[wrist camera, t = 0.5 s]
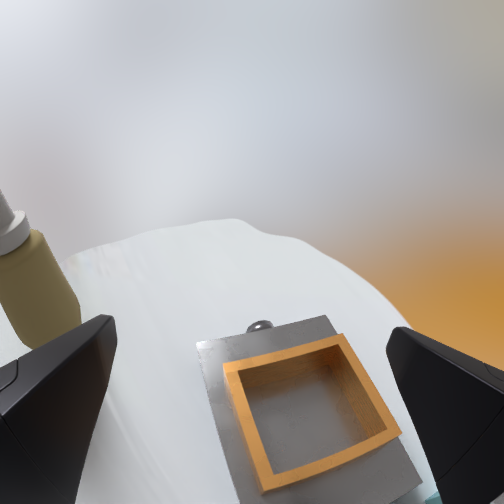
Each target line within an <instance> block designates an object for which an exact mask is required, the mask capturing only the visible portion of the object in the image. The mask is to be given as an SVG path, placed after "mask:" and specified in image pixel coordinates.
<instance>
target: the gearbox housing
mask: <svg viewBox="0 0 504 504" xmlns="http://www.w3.org/2000/svg"><path fill="white" fill-rule="evenodd" d="M196 344H197V349H198V354H199V359H200V364H201V368H202V373H203V377H204V381H205V385H206V389H207V393H208V397H209V401H210V405H211V409H212V413H213V417H214V420H215V424H216V428H217V431H218V435H219V439H220V442H221V446H222V449H223V452H224V456H225V459H226V462H227V466H228V469H229V472H230V475H231V478H232V481H233V484H234V488H235V491H236V494H237V497H238V499H239V502H240V504H389V503H391V502H393V501H394V500H396V499H398V498H399V497H401V496H403V495H404V494H406V493H407V492H409V491H410V490H412V489H414V488H415V487H417V486H418V485H419V484H421V483H422V480H421V478H420V476H419V474H418V472H417V471H416V469H415V467H414V465H413V463H412V461H411V460H410V458H409V456H408V454H407V452H406V451H405V449H404V447H403V445H402V443H401V442H400V440H399V438H398V436H399V435H401V434H402V432H401V430H400V428H399V426H398V425H397V423H396V421H395V419H394V418H393V416H392V414H391V413H390V411H389V409H388V407H387V406H386V404H385V402H384V401H383V399H382V397H381V396H380V394H379V392H378V390H377V389H376V387H375V385H374V384H373V382H372V380H371V379H370V377H369V375H368V374H367V372H366V370H365V369H364V367H363V366H362V364H361V362H360V361H359V359H358V357H357V356H356V354H355V352H354V351H353V349H352V348H351V346H350V344H349V343H348V341H347V340H346V338H345V336H344V335H343V333H341V334H337V332H336V331H335V329H334V328H333V326H332V324H331V323H330V321H329V319H328V318H327V316H326V315H322V316H318V317H315V318H311V319H307V320H303V321H299V322H294V323H290V324H286V325H282V326H277V327H274V326H273V324H272V323H271V322H270V321H266V320H263V321H258V322H255V323H253V324H252V325H251V326H249V327H248V329H247V331H246V333H245V334H240V335H235V336H230V337H225V338H220V339H215V340H209V341H204V342H198V343H196Z"/></svg>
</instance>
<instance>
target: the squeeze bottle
mask: <svg viewBox="0 0 504 504" xmlns="http://www.w3.org/2000/svg"><path fill="white" fill-rule="evenodd" d="M0 303H1V305H2V307H3V309H4V311H5V313H6V315H7V317H8V319H9V321H10V323H11V325H12V327H13V329H14V330H15V332H16V334H17V336H18V337H19V339H20V340H21V341H22V343H23V344H25V345H26V346H28V347H29V348H31V349H33V350H34V349H36V348H38V347H40V346H42V345H44V344H45V343H47V342H49V341H51V340H53V339H55V338H57V337H59V336H60V335H62V334H64V333H66V332H68V331H70V330H72V329H74V328H76V327H77V326H79V325H81V324H82V322H81V312H80V305H79V302H78V299H77V297H76V295H75V293H74V292H73V290H72V288H71V286H70V285H69V283H68V281H67V280H66V278H65V276H64V274H63V272H62V271H61V269H60V267H59V265H58V263H57V261H56V259H55V258H54V256H53V254H52V252H51V250H50V248H49V246H48V244H47V242H46V240H45V238H44V236H43V234H42V233H40V232H39V231H37V230H33V229H30V225H29V222H28V219H27V216H26V213H25V212H23V211H21V210H20V211H19V210H18V211H12V210H11V208H10V206H9V205H8V203H7V201H6V199H5V197H4V195H3V194H2V192H1V190H0Z"/></svg>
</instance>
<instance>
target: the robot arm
mask: <svg viewBox="0 0 504 504" xmlns="http://www.w3.org/2000/svg"><path fill="white" fill-rule="evenodd" d="M116 348H117V334H116V327H115V320H114V317H113V316H110V315H103V314H101V315H98V316H96V317H94V318H93V319H91V320H89V321H87V322H85V323H83V324H81V325H79V326H77V327H76V328H74V329H72V330H70V331H68V332H66V333H64V334H62V335H60V336H59V337H57V338H55V339H53V340H51V341H49V342H47V343H45V344H44V345H42V346H40V347H38V348H36V349H34V350H32V351H31V352H29V353H27V354H25V355H23V356H21V357H19V358H18V360H17V359H16V360H14V361H12V362H10V363H8V364H7V365H5V366H3V367H1V368H0V504H75V501H76V496H77V492H78V487H79V483H80V479H81V475H82V471H83V467H84V463H85V459H86V455H87V452H88V448H89V445H90V441H91V438H92V434H93V431H94V428H95V424H96V421H97V418H98V415H99V412H100V408H101V405H102V402H103V399H104V396H105V393H106V390H107V387H108V383H109V378H110V374H111V369H112V365H113V360H114V356H115V352H116ZM386 354H387V357H388V360H389V363H390V366H391V369H392V372H393V375H394V378H395V381H396V384H397V386H398V389H399V391H400V394H401V396H402V398H403V401H404V403H405V405H406V408H407V410H408V412H409V415H410V417H411V419H412V422H413V424H414V427H415V429H416V432H417V434H418V437H419V439H420V442H421V444H422V447H423V449H424V452H425V455H426V457H427V460H428V463H429V465H430V468H431V471H432V474H433V477H434V479H435V482H436V486H437V489H438V492H439V495H440V498H441V501H442V504H490V503H491V504H504V371H502V370H499V369H497V368H495V367H493V366H490V365H488V364H486V363H483V362H482V361H479V360H477V359H475V358H473V357H471V356H468V355H466V354H464V353H462V352H460V351H457V350H455V349H453V348H451V347H449V346H446V345H444V344H442V343H440V342H438V341H436V340H433V339H431V338H429V337H427V336H425V335H422V334H420V333H418V332H416V331H414V330H412V329H409V328H407V327H396V328H394V329H393V331H392V333H391V336H390V338H389V341H388V343H387V346H386Z"/></svg>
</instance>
